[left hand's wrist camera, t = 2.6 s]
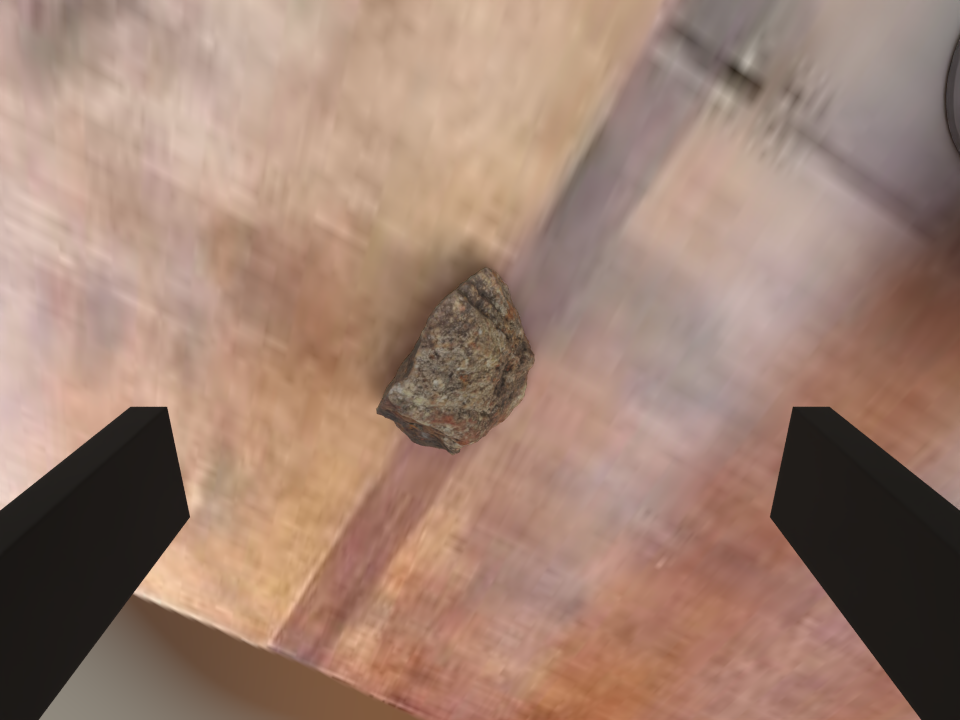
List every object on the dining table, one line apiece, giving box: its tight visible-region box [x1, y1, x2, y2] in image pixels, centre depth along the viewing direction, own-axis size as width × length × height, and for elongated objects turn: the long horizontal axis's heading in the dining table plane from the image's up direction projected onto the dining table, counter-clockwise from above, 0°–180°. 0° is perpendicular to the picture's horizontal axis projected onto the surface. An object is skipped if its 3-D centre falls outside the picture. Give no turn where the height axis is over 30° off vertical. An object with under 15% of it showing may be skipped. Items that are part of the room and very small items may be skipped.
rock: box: [376, 267, 534, 455], centre depth 40 cm, size 14×9×10 cm
